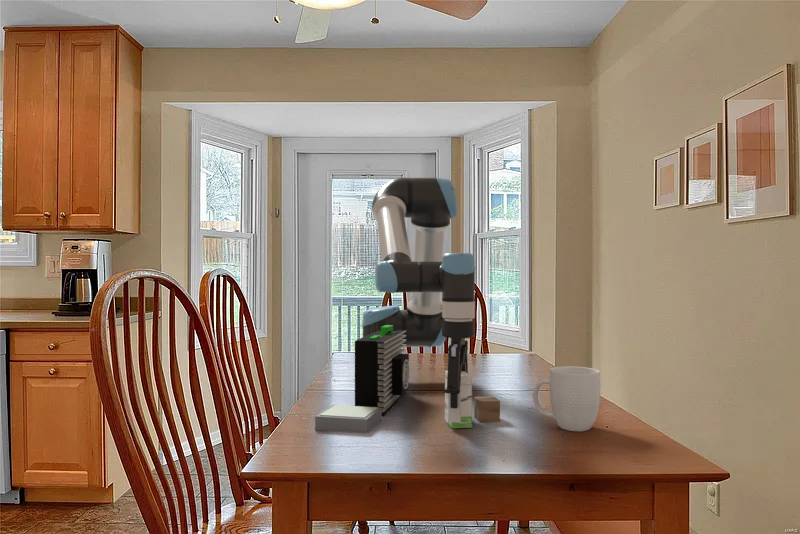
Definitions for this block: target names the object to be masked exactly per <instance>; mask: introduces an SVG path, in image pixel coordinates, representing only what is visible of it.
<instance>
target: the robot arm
mask: <svg viewBox="0 0 800 534" xmlns="http://www.w3.org/2000/svg"><path fill="white" fill-rule="evenodd" d="M456 196H457V195H456V191H455V187H454V183H453V182H452V180H450V179H448V178H440V177H398V178H394V179H391V180H389V181H388V182H386V183H385V184H383V185H382V186H381V187H380V188H379V189H378V191H377V192H376V193H375V195H374V197H373V199H372V203H371V210H372V217H373V218H374V220H375V221H376V224H377V225H376V226H377V232H378V240H379V242H378V243H379V249H380V250H379V251H380V257H381V258H380V259H381V261H377V262H376V264H375V268H374V269H375V270H374V280H375V281H374V283H375V289H376V291H377V292H379V293H390V294H394V293H398V294H399V293H412V294H411V295H412V298H411V300H410V301H408V302H407V304H406V309H401V308H400V305H397V304H396V305H386V306H379V307H371V308H368V309H366V310H364V312H363V314H362V324H361V326H362V338H363V337H365V336H367V335H369V334H372V333H374V332H376V331H381V327H382V326H385V325H393V331H399V330H406V332H405V333H403V334H401V335H406V337H404V338H402V339H403V340H406V341H405V342H403V343H402V344H406V346H405V347H404V348H406V347H407V348H409V347H410V348H414V347H417V348H421V347H422V348H424V347H426V348H431V347H440V346H442V345H443V344H444V343H445V341H446V340H447V339H448V338H450V339H451V341H450V345H448V348H447V352H448V353H447V355H448V356H447V358H448V359H447V371H448V375H447V389H446V390H445V389H444V394H445V393H448V422H454V423H461V393H460V381H461V371H465V372H466V373H467V374H469V364H468V363H469V362H468V360H469V359H468V351H469V350H468V349H469V348H468V347H469V345H468V344H469V342H468V340H466V339H469V338H470V339H471V338H473V337H475V324H476V323H475V322H474V319H475V317H476V316H475V315H476V301H475V285H476V284H475V279H476V278H475V277H476V276H475V275H476V274H475V273H476V265H475V256H474V254H473V253H469V252H446V253H444V237H445V230H446V229H447V228H448V227H449V226H450V225H451V220H452V219H455V218H456V217H457V212H458V210H457V207H458V205H457V198H456ZM405 218H406V219H407V218H410V223H411V225H412V226H413V227H414V228H415V233H414V234H415V236H414V237H415V239H414V253H413V254H414V259H413V258H412V255H411V249H410V244H409V238H408V233H407V231H408V230H407V228H406V221H405ZM412 259H413V261H412ZM441 296H442V297H441ZM440 298H441V299H440ZM440 300H441V301H442V302H441V301H440ZM452 386H456V387H452Z"/></svg>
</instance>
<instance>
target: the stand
mask: <svg viewBox="0 0 800 534" xmlns="http://www.w3.org/2000/svg"><path fill="white" fill-rule="evenodd" d="M382 418H383V416H382V408H379V407H362V406H355V405H344V404H333V405H331V406H329V407H328V408H326V409H324V410H322V412H319V413H318V414H317V415H315V416H314V422H315V423H314V428H315V429H314V430H315V431H329V432H342V433H356V434H357V433H358V434H368V433H369V432H370V431H371V430H373V428H375V427H376V426H377V425H379V423H381V421H382Z"/></svg>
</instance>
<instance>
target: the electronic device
mask: <svg viewBox="0 0 800 534" xmlns="http://www.w3.org/2000/svg"><path fill="white" fill-rule="evenodd" d="M405 332H406V330H399V331H393V325H385V326H382V327H381V331H376V332H374V333H372V334H369V335H367V336H365V337H363V336H362V337H360V338H358V339H356V340H354V406H362V407H379V408H382V417H385V416H386V415H387V414H388V413H389V412H390V411H391V410H392V409H393V408H394V407H395V406H394V405H395V404H396V403H399V402H400V401H401V399H403V398H404V397H405V395H406V394H407V391H408V390H409V386H410V385H409V383H410V364H409V363H410V362H409V360H410V358H409V357H410V356H409V355H410V354H409V353H407V352H405V351H407V348H406V347H405V346H406V344H402V343H403V342H405V341H406V340H403V339H402V338H404V337H406V335H401V334H403V333H405ZM392 407H393V408H392ZM390 409H391V410H390Z"/></svg>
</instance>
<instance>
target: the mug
mask: <svg viewBox="0 0 800 534" xmlns="http://www.w3.org/2000/svg"><path fill="white" fill-rule="evenodd" d="M544 384H545V385H548V386H549V398H550V400H549V401H550V406H551V411H547V410H546V409H544V408H543V407H541V405H540V403H539V399H538V394H539V390H540V388H541V386H542V385H544ZM532 393H533V394H532V398H533V400H532V401H533V403H534V406H535V408H536V409H537V411H538V412H539V413H540V414H542V415H544V416H545V417H546V416H547V417H549V418H553V419H555V422H556V424H557V426H558V427H559V428H560V429H562V430H564V431H569V432H586V431H589V430H590V429H591V428H592V426H593V425H594V424H595V422H596V419H597V415H598V413H599V407H600V402H601V371H600V370H599V369H597V368H591V367H586V366H577V365H576V366H574V365H573V366H572V365H571V366H570V365H567V366H565V365H563V366H554V367H551V368H550V369H549V378H544V379H541V380H540V381H538V382H537V384H536V385H535V386H534V389H533V392H532Z"/></svg>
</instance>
